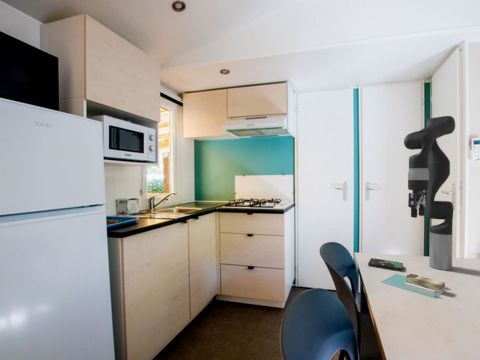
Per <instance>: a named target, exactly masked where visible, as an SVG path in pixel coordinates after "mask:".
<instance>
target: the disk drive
mask: <svg viewBox="0 0 480 360" xmlns="http://www.w3.org/2000/svg"><path fill="white" fill-rule="evenodd" d="M367 267H371V268H377V269H384V270H389V271H390V270H391V271H396V272H401V273H402V272H403V268H404V263H403V262H399V261H393V260H387V259H386V260H385V259H381V258H380V259H379V258H373V257H371V258H370V259H369V261H368V262H367Z"/></svg>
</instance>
